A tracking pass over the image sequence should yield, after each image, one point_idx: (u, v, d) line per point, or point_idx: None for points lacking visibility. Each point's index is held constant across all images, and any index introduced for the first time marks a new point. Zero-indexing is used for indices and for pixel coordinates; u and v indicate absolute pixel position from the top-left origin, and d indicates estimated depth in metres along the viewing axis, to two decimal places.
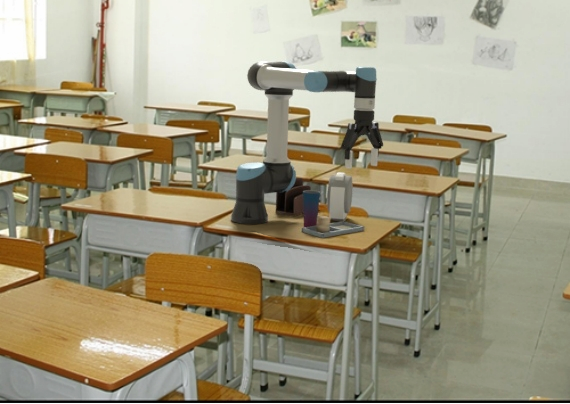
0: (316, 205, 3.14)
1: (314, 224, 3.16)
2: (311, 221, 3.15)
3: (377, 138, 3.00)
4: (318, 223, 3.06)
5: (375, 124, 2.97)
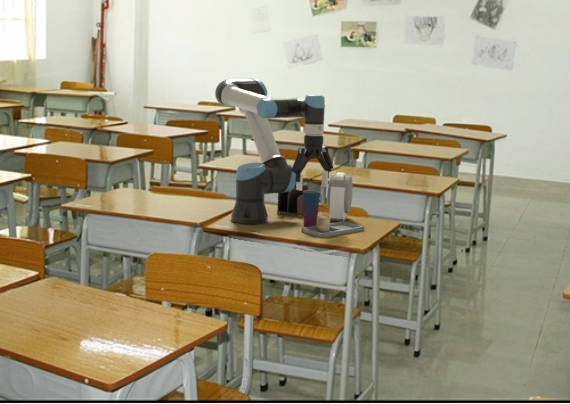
0: (316, 205, 3.14)
1: (314, 224, 3.16)
2: (311, 221, 3.15)
3: (327, 161, 3.18)
4: (318, 223, 3.06)
5: (325, 148, 3.15)
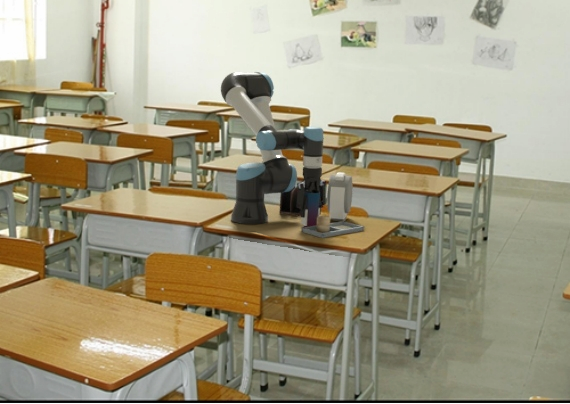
0: (316, 205, 3.14)
1: (314, 224, 3.16)
2: (311, 221, 3.15)
3: (321, 196, 3.19)
4: (318, 223, 3.06)
5: (323, 182, 3.18)
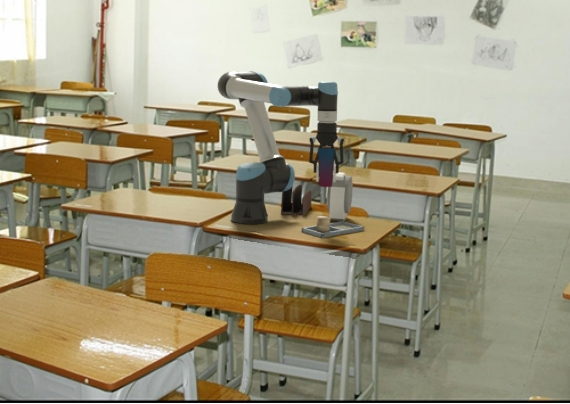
0: (326, 161, 3.08)
1: (325, 181, 3.10)
2: (321, 177, 3.10)
3: (340, 154, 3.10)
4: (318, 223, 3.06)
5: (340, 139, 3.09)
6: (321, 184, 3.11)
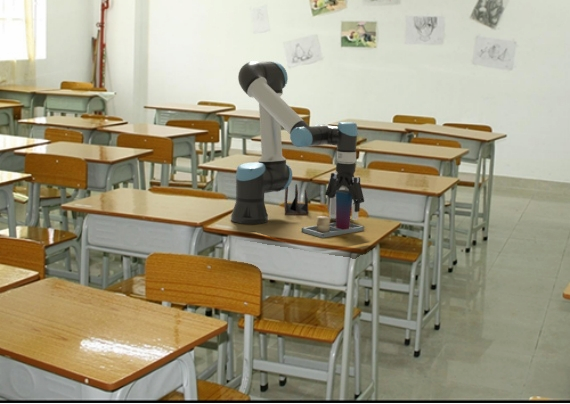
0: (338, 204, 3.11)
1: (338, 223, 3.13)
2: (336, 219, 3.14)
3: None
4: (318, 223, 3.06)
5: None
6: (336, 226, 3.15)
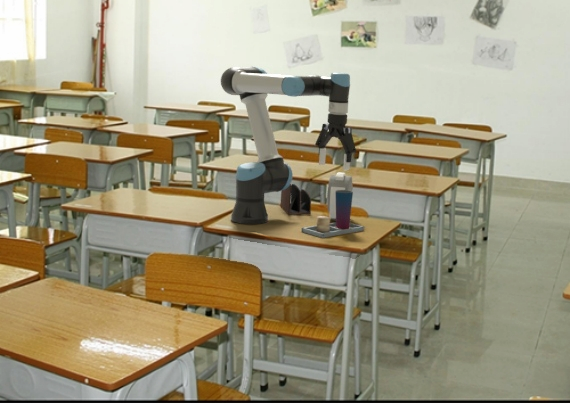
0: (338, 204, 3.11)
1: (337, 223, 3.13)
2: (336, 219, 3.14)
3: None
4: (318, 223, 3.06)
5: None
6: (336, 226, 3.15)
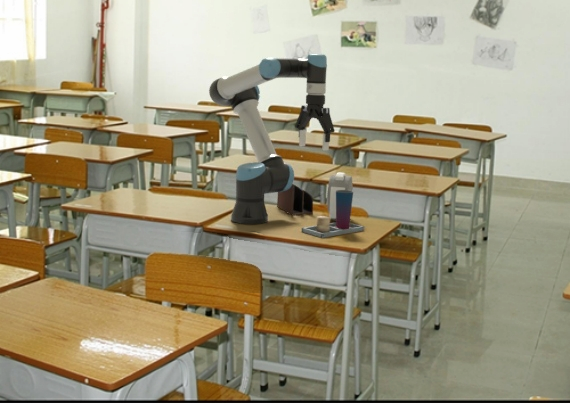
0: (338, 204, 3.11)
1: (338, 223, 3.13)
2: (336, 219, 3.14)
3: None
4: (318, 223, 3.06)
5: None
6: (336, 226, 3.15)
